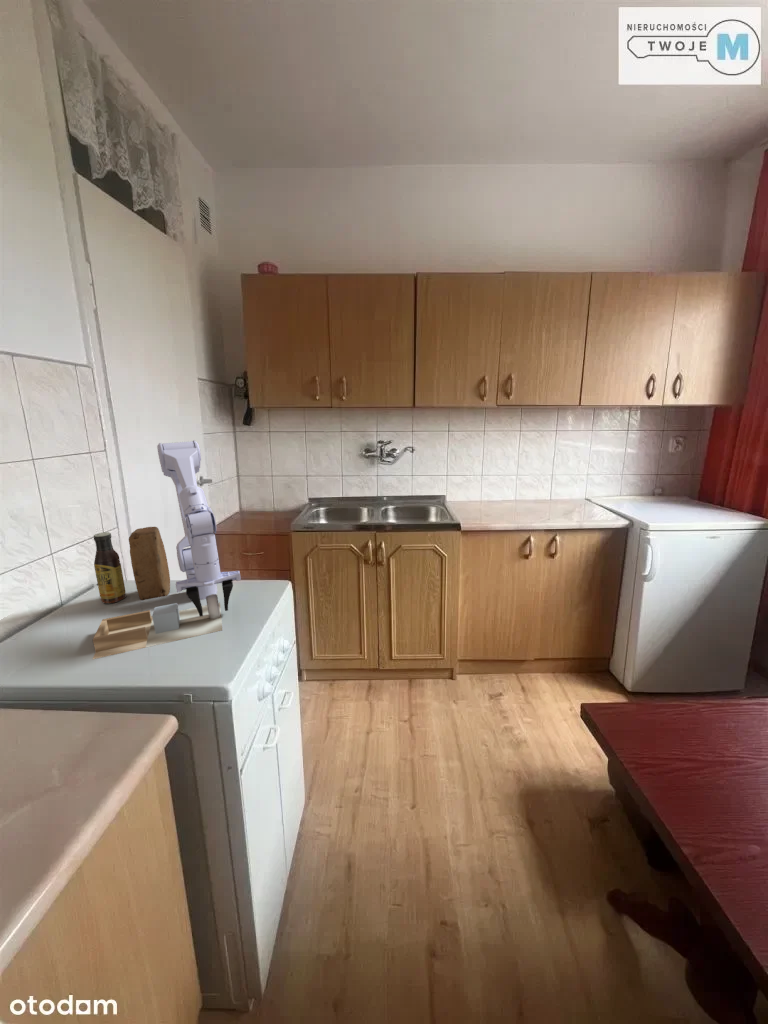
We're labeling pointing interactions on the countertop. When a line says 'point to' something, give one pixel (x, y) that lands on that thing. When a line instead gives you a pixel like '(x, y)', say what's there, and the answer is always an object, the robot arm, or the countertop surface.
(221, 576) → the robot arm
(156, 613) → the block
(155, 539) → the block
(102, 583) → the sauce bottle
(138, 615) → the shelf lane
